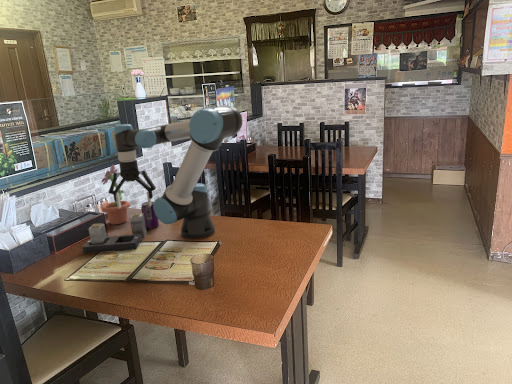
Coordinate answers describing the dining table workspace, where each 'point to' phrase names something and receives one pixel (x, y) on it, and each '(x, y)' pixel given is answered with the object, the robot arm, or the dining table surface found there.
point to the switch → (109, 241)
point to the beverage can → (149, 215)
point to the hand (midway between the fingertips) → (134, 206)
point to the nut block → (138, 224)
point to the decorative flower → (115, 203)
